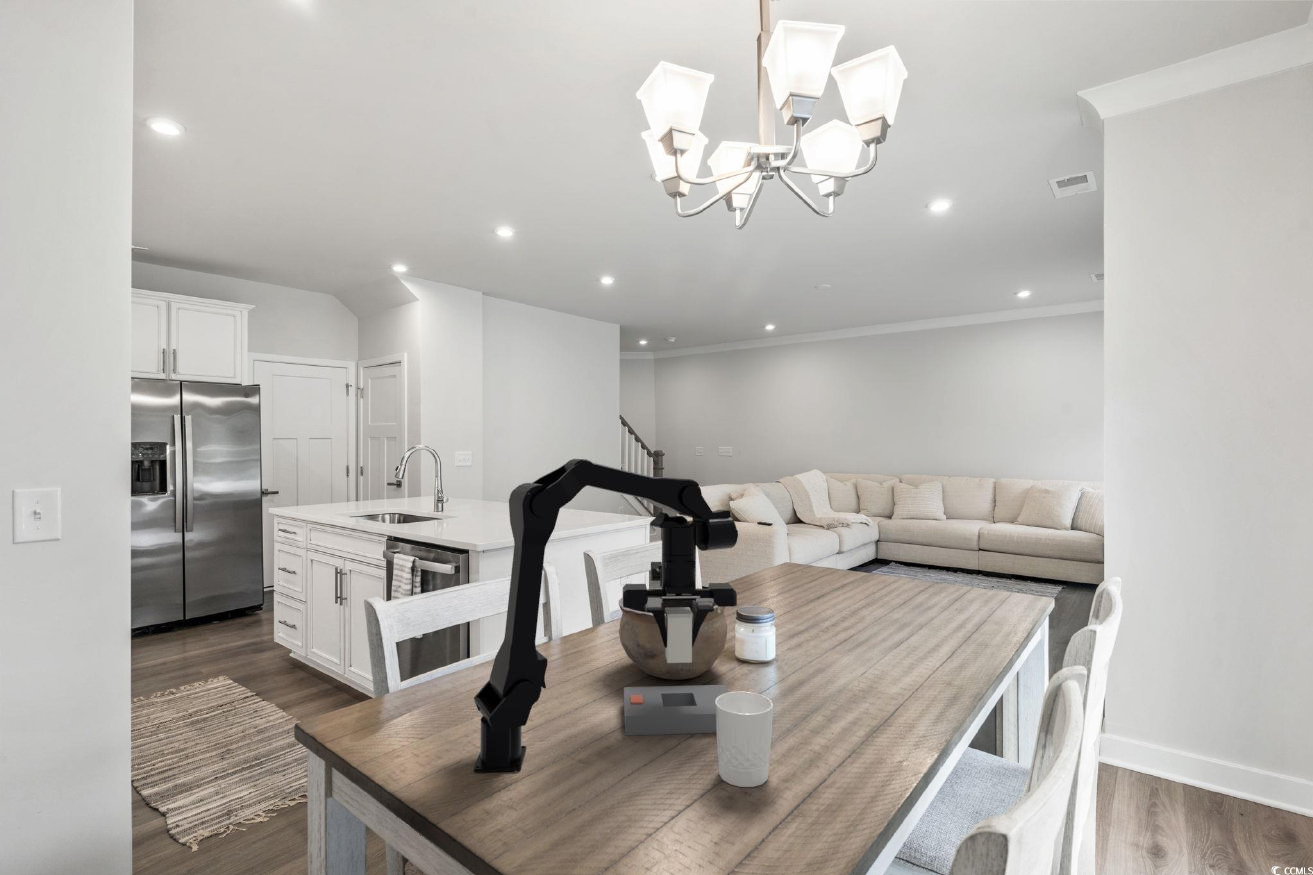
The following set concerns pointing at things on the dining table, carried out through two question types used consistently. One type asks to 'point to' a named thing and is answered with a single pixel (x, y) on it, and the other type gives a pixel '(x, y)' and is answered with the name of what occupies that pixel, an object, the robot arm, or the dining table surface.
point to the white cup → (743, 737)
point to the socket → (671, 709)
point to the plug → (679, 635)
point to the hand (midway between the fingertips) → (678, 646)
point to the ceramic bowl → (649, 649)
